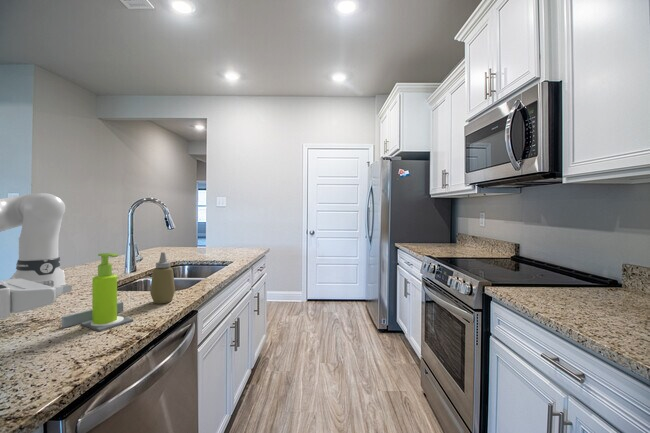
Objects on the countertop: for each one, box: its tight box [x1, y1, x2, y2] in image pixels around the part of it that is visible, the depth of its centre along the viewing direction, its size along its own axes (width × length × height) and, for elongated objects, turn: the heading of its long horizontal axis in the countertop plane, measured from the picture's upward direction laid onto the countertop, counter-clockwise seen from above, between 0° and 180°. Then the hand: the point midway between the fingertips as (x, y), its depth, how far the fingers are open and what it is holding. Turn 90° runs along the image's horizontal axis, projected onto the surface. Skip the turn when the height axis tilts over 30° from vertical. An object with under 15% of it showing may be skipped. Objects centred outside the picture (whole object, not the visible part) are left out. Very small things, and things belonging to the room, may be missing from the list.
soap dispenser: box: [91, 252, 120, 324], centre depth 89 cm, size 6×7×20 cm
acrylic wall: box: [61, 301, 124, 329], centre depth 93 cm, size 1×16×3 cm, turn 153°
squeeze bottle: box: [149, 251, 176, 305], centre depth 110 cm, size 8×8×18 cm
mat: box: [80, 314, 134, 332], centre depth 89 cm, size 10×9×1 cm
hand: (61, 285), depth 79 cm, fingers open, 8 cm apart
